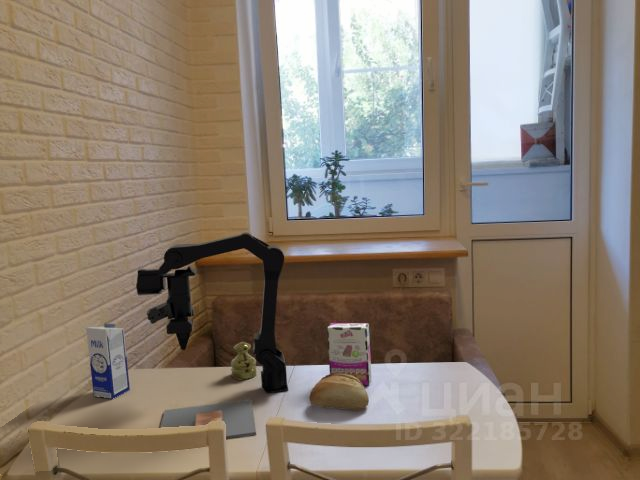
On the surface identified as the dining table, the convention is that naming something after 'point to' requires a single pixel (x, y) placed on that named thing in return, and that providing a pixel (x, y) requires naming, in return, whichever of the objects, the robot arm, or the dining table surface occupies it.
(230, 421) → the mat
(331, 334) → the candy bar box
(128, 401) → the dining table surface
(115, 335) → the milk carton
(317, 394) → the bread roll
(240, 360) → the olive tall rounded piece
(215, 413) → the tile
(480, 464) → the dining table surface
